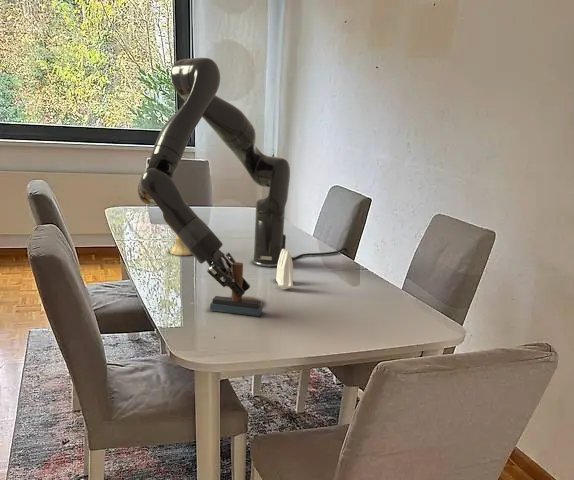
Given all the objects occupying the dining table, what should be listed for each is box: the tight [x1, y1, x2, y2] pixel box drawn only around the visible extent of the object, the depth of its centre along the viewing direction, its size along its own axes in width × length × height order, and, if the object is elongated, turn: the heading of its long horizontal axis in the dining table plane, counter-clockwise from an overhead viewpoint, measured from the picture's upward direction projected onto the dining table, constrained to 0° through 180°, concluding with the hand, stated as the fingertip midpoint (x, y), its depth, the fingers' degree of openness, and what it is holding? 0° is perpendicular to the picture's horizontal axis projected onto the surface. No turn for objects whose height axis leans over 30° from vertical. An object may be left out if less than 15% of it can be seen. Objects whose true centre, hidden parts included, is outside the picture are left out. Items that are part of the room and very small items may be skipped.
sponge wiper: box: [209, 261, 264, 317], centre depth 160 cm, size 4×13×13 cm, turn 80°
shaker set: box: [275, 248, 294, 290], centre depth 184 cm, size 12×4×11 cm, turn 4°
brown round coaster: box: [242, 296, 264, 306], centre depth 170 cm, size 10×10×1 cm
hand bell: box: [169, 235, 193, 257], centre depth 210 cm, size 8×8×16 cm
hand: (244, 292), depth 160 cm, fingers open, 4 cm apart
